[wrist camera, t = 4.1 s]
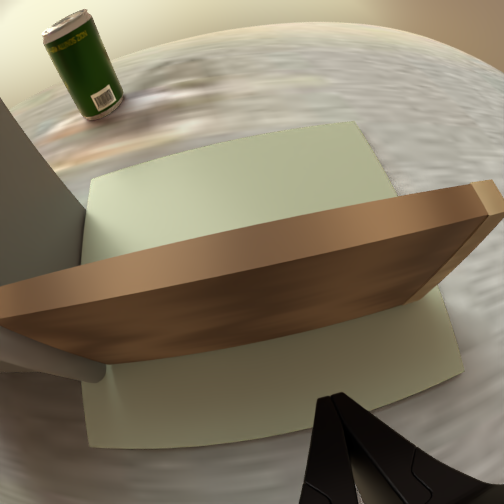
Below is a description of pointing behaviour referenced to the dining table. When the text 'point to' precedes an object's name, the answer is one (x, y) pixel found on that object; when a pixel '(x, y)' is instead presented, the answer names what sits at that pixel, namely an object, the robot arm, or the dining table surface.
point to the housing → (197, 225)
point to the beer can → (84, 65)
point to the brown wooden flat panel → (255, 278)
